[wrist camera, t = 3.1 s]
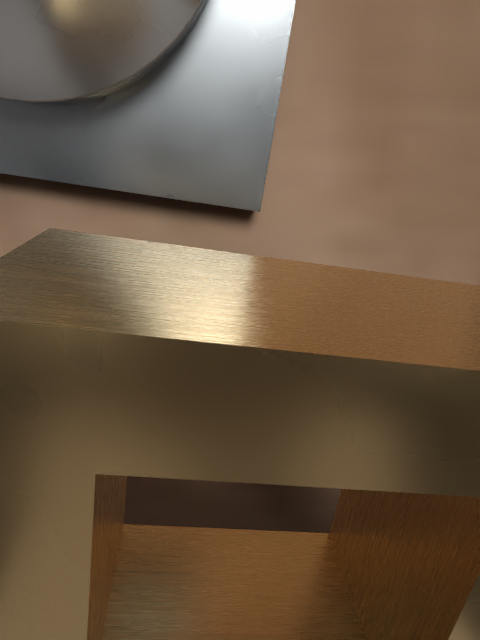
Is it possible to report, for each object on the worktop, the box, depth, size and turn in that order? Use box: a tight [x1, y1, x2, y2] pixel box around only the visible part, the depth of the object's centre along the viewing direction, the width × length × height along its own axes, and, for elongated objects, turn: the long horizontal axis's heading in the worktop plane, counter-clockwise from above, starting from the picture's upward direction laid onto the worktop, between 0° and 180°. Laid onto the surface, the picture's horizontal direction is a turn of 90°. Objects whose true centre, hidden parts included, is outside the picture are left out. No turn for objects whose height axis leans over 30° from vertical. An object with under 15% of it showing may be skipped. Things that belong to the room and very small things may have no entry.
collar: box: [0, 228, 480, 640], centre depth 7 cm, size 7×7×4 cm
